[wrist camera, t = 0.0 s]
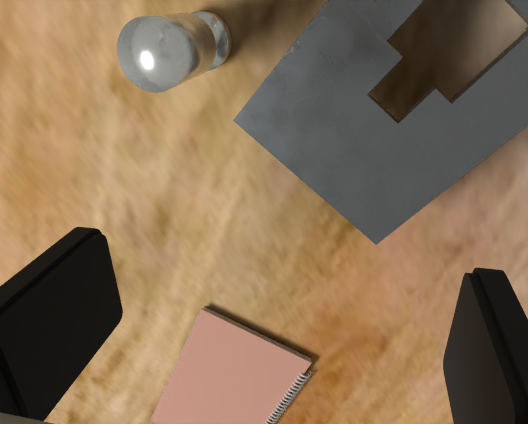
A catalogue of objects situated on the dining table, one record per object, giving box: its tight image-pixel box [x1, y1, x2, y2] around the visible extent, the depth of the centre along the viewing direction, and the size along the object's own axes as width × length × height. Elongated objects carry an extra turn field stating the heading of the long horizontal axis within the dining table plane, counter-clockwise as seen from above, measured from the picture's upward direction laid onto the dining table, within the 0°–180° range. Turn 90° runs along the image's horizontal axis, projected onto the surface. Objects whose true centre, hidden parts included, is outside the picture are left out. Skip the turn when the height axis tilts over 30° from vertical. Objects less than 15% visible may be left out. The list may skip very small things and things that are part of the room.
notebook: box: [150, 307, 312, 424], centre depth 60 cm, size 27×17×2 cm, turn 157°
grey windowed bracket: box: [233, 0, 528, 245], centre depth 33 cm, size 22×16×8 cm
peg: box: [117, 11, 232, 92], centre depth 34 cm, size 5×5×12 cm
